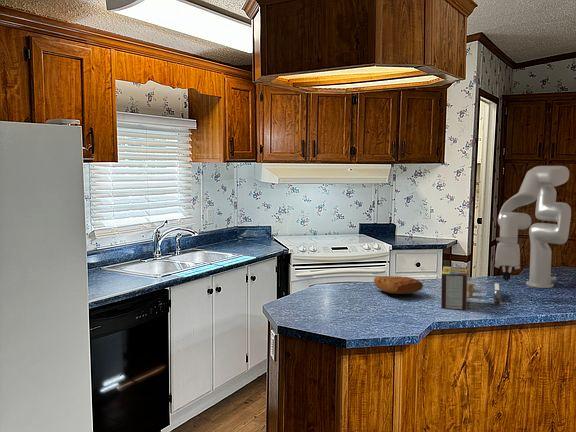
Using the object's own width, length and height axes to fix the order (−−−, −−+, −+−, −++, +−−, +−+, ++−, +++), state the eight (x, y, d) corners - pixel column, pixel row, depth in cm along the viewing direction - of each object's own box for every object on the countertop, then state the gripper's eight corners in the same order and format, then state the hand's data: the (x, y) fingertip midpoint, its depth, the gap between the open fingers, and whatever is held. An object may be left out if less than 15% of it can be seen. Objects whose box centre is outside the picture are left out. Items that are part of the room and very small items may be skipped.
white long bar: (499, 302, 230) (499, 290, 230) (494, 301, 231) (495, 290, 230) (498, 294, 243) (498, 283, 243) (494, 294, 244) (494, 283, 243)
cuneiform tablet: (425, 297, 240) (425, 280, 239) (393, 301, 234) (393, 283, 234) (400, 286, 261) (400, 271, 260) (370, 289, 255) (370, 273, 254)
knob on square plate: (496, 301, 231) (497, 288, 231) (505, 304, 227) (506, 291, 226) (488, 303, 229) (488, 289, 229) (497, 305, 225) (497, 292, 224)
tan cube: (467, 289, 254) (467, 281, 254) (474, 291, 250) (474, 283, 250) (460, 290, 253) (460, 282, 252) (466, 292, 249) (467, 284, 248)
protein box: (466, 301, 233) (467, 267, 231) (466, 310, 218) (467, 274, 217) (442, 299, 236) (443, 266, 235) (440, 308, 222) (441, 273, 220)
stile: (468, 295, 243) (468, 282, 242) (472, 296, 240) (473, 284, 239) (463, 295, 242) (464, 283, 241) (468, 297, 239) (468, 284, 238)
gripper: (490, 240, 234) (488, 280, 236) (526, 242, 229) (524, 283, 230) (490, 238, 241) (488, 277, 243) (525, 240, 236) (523, 280, 237)
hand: (506, 280), depth 236 cm, fingers closed
